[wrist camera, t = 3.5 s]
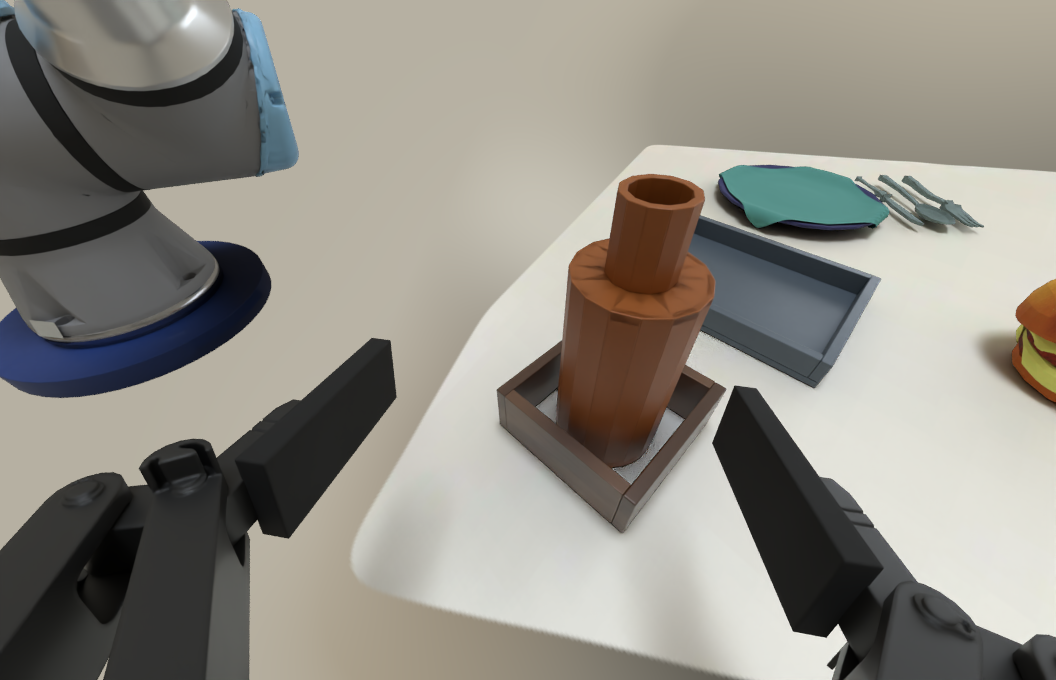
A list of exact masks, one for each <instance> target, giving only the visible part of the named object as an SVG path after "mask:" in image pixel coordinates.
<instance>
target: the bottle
mask: <svg viewBox="0 0 1056 680" xmlns="http://www.w3.org/2000/svg"><path fill="white" fill-rule="evenodd" d="M704 201H705V197H704V191H703V190H702V189H701V188H699V187H698V186H696V185H695V184H693V183H692V182H690V181H687V180H683V179H680V178H677V177H674V176H667V175H656V174H646V175H637V176H631V177H629V178H627V179H625V180H623V181H621V182H620V183H619V187H618V191H617V197H616V203H615V209H614V215H613V221H612V227H611V233H610V238H609V239H605V240H601V241H596V242H593V243H591V244H589V245H588V246H586V247H584V248H583V249H581V250H579V251H578V252H577V253H576V254H575V256H574V258H573V259H572V261H571V263H570V264H569V270H568V281H567V293H566V304H565V316H564V327H563V339H562V350H561V362H560V374H559V385H558V397H557V408H556V415H557V417H556V424H557V425H558V426H559V427H560V428H562V429H563V430H564V431H565V432H567V433H568V434H569V435H570V436H572V437H573V438H574V439H575V440H576V441H578V442H579V443H580V444H581V445H583V446H584V447H585V448H586V449H588V450H589V451H590V452H591V453H593V454H594V455H595V456H596V457H597V458H599V459H600V460H601V461H602V462H604V463H605V464H606V465H607V466H609V467H620V466H624V465H627V464H630V463H632V462H634V461H636V460H637V459H639V458H640V457H641V456H642V455H643V454H644V453H645V451H646V450H647V449H648V446H649V445H650V444H651V442H652V440H653V437H654V435H655V433H656V431H657V428H658V426H659V424H660V421H661V419H662V417H663V414H664V412H665V410H666V407H667V405H668V403H669V401H670V398H671V396H672V394H673V391H674V389H675V387H676V384H677V382H678V380H679V377H680V375H681V373H682V370H683V368H684V366H685V364H686V361H687V359H688V357H689V354H690V352H691V350H692V347H693V345H694V343H695V340H696V338H697V336H698V333H699V331H700V329H701V327H702V324H703V322H704V320H705V317H706V315H707V313H708V310H709V308H710V306H711V303H712V301H713V299H714V294H715V283H716V281H715V279H714V277H713V276H712V274H711V272H710V271H709V269H708V267H707V266H706V265H705V264H704V263H703V262H701V261H700V260H699V259H697V258H696V257H695V256H693V255H692V254H691V253H689V252H688V249H689V246H690V243H691V240H692V237H693V234H694V231H695V228H696V225H697V222H698V219H699V216H700V213H701V210H702V207H703V204H704Z"/></svg>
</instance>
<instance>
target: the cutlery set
mask: <svg viewBox="0 0 1056 680" xmlns="http://www.w3.org/2000/svg"><path fill="white" fill-rule="evenodd" d="M719 177H720V179H719V181H718V184H719V188H720V191H721V193H722V194H723V195H724V196H725V197H726V198H728V199H729V200H730V201H731V202H732V203H733V204H735V205H737V206H739V207H741V208H742V209H744V210H745V213H746V216H747V218H748V219H749V221H750V222H751V223H752V224H753V225H754V226H755V227H756V228H760V227H765V226H767V225H770V224H773V223H775V222H780V223H784V224H789V225H793V226H797V227H803V228H812V229H822V230H848V229H858V228H862V227H865V226H868V227H869V228H872V229H873V228H875V227H877V225H879V223H881V222H882V221H883V220H884V219H885V218H887V217H888V214H889V212H890V211H889V210H888V208H887V207H886V206H885V205H884V204H883V203H882V202H886V203H887V204H888V205H889V206H890V207H891V208H892V209H894V210H895V211H896V212H898V213H899V214H900V215H902V216H903V217H904V218H906V219H907V220H909V221H910V222H912V223H914V224H917V225H920V226H923V225H924V223H923V222H922V221H921V220H919V219H918V218H916V217H915V216H914V215H912V214H911V213H909V212H908V211H907V210H905V209H904V208H902V207H901V206H900V205H898V204H897V203H896V202H894V201H893V200H891V199H890V197H891V196H892V194H887V193H886V191H881V190H878V189H877V188H875V187H874V186H872V185H870V184H868V183H867V182H866V181H864V180H863V179H862V177H858V176H857V178H856V179H855V181H860V182H861V183H863V184H865V185H866V186H868V187H869V188H870V189H872V190H873V191H874V193H875V195H874V194H872V193H871V192H869V191H867V190H866V189H864V188H862V187H860V186H859V185H857V184H855V183H854V182H853V181H852V180H851V179H850V178H847V177H844V176H841V175H838V174H835V173H832V172H828V171H824V170H820V169H815V168H811V167H790V166H777V165H752V166H747V165H739V166H736V167H733V168H730V169H729V170H726V171H725V172H722V173H721V174H719ZM878 180H879V181H882V182H883V183H885V184H887V185H889V186H890V187H892V188H893V189H895V190H896V191H898V192H899V193H900V194H901V195H903V196H904V197H905V198H907V199H908V200H909V201H910V202H912V203H913V204H914V205H915V211H916V213H917V214H918V215H919V216H920V217H921V218H923V219H925V220H927V221H931V222H934V223H938V224H955V219H957V220H958V221H960V222H961V223H963V224H964V225H967V226H970V227H973V226H974V227H984V226H983V225H981V224H979V223H978V222H976V221H975V220H974V219H973V218H972V217H971V216H970V215H968V214H967V213H966V212H965V211H964V210H963V209H962V207H961V205H957V204H954V203H953V200H944V199H942V198H940V197H938V196H935V195H934V194H933V193H931V192H930V191H928V190H927V189H926V188H925V187H923V186H922V185H921V184H920V183H919V182H918V181H917V180H915V179H914V178H912V176H904V178H903V179H902V182H903V183H906V184H907V185H909V186H911V187H912V188H913V189H914V190H915V191H917V192H918V193H920V194H921V195H923V196H924V197H926V198H927V199H930V200H932V201H935V202H937V203H939V204H941V206H940V209H941V210H940V209H938V208H936V207H933V206H930V205H927V204H919V203H918V202H917V201H916V200H915V199H914V198H913V197H912V196H911V195H910V194H909V193H908V192H907V191H906V190H905V189H904V188H902V187H901V186H900V185H898V184H897V183H896V182H894V181H893V180H892V179H891V178H889V177H888V176H887V175H880V176H879V178H878ZM876 196H877V197H880V200H879V199H878V198H877V197H876ZM953 217H954V218H955V219H954V218H953Z"/></svg>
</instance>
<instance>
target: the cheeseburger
mask: <svg viewBox="0 0 1056 680" xmlns="http://www.w3.org/2000/svg"><path fill="white" fill-rule="evenodd" d="M1015 316H1016V318H1017V320H1018V321H1019V322H1020V323H1021V325H1020V326H1019V327H1018V329H1017V330H1016V341H1017V345H1016V346H1015V348H1014V349H1013V351H1012V364H1013V365H1014V367H1015V368H1016V369H1017V371H1018V372H1019V373H1020V375H1021V376H1022V378H1023V379H1024V380H1025V381H1026V382H1027V383H1029V384H1030V385H1031V386H1032V387H1034V388H1035V389H1036V390H1037V391H1039V392H1040V393H1041V394H1042V395H1044V396H1045V397H1046V398H1047V399H1049V400H1052V401H1054V402H1056V279H1055V280H1052V281H1050V282H1048V283H1046V284H1045V285H1043V286H1041V287H1040V288H1038V289H1036V290H1035V291H1033V292H1032V293H1031V294H1030V295H1029V296H1028V297H1027V298H1026V299H1025V300H1024V301H1023V302H1022V303H1021V304H1020V305H1019V306H1018V307H1017V310H1016V315H1015Z"/></svg>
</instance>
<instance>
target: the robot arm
mask: <svg viewBox="0 0 1056 680" xmlns="http://www.w3.org/2000/svg"><path fill="white" fill-rule="evenodd" d="M298 155H299V152H298V147H297V143H296V140H295V137H294V133H293V130H292V126H291V123H290V119H289V116H288V113H287V109H286V106H285V102H284V99H283V95H282V92H281V88H280V84H279V81H278V77H277V74H276V70H275V67H274V63H273V60H272V56H271V53H270V50H269V46H268V43H267V39H266V36H265V33H264V29H263V26H262V23H261V21H260V19H259V18H258V17H257V16H256V15H255V14H253V13H250V12H244V11H242V10H241V9H233V10H231V9H230V6H229V4H228V2H227V0H14V8H13V7H12V6H10V5H9V4H8V3H7V2H6V1H5V0H0V278H1V280H2V282H3V284H4V286H5V287H6V289H7V291H8V293H9V295H10V297H11V298H12V300H13V302H14V304H15V306H16V307H17V309H18V311H19V313H20V315H21V317H22V318H23V320H24V321H25V322H26V323H27V325H28V327H29V328H30V329H31V330H33V331H34V332H35V333H36V334H38V335H39V336H40V337H41V338H43V339H44V340H45V341H47V342H48V343H50V344H52V345H55V346H58V347H62V348H73V349H82V348H95V347H102V346H108V345H113V344H117V343H121V342H125V341H129V340H132V339H136V338H139V337H142V336H145V335H147V334H150V333H153V332H155V331H158V330H160V329H162V328H165V327H167V326H169V325H171V324H173V323H175V322H177V321H179V320H181V319H182V318H184V317H186V316H188V315H189V314H191V313H192V312H194V311H195V310H197V309H198V308H199V307H201V306H202V305H203V304H205V303H206V302H207V301H208V300H209V299H210V298H211V297H212V296H213V295H214V294H215V293H216V292H217V290H218V289H219V288H220V286H221V284H222V281H223V277H224V273H223V270H222V268H221V266H220V265H219V263H218V262H217V261H216V259H215V258H214V256H213V255H212V254H211V253H210V252H209V251H208V250H207V249H206V248H205V247H203V246H202V245H201V244H199V243H198V242H197V241H196V240H194V239H193V238H192V237H191V236H189V235H188V234H187V233H186V232H184V231H183V230H182V229H181V228H179V227H178V226H177V225H176V224H174V223H173V222H172V221H170V220H169V219H168V218H167V217H166V216H164V215H163V214H162V213H161V212H159V211H158V210H157V209H156V208H155V207H154V205H153V204H152V203H151V201H150V200H149V199H148V198H147V196H146V194H145V193H144V192H143V190H150V189H156V188H163V187H164V188H165V187H173V186H180V185H188V184H195V183H204V182H212V181H220V180H228V179H236V178H244V177H251V176H256V177H260V176H262V175H264V174H265V173H269V172H274V171H279V170H284V169H288V168H290V167H292V166H294V165H295V164H296V162H297V160H298ZM395 399H396V389H395V379H394V369H393V360H392V351H391V342H390V340H384V339H376V338H371V339H370V340H369V341H368V342H367V343H366V344H365V345H364V346H362V347H361V348H360V349H359V350H358V351H357V352H356V353H354V354H353V355H352V356H351V357H350V358H349V359H348V360H346V361H345V362H344V363H343V364H342V365H341V366H340V367H339V368H338V369H336V370H335V371H334V372H333V373H332V374H331V375H329V376H328V377H327V378H326V379H325V380H324V381H323V382H322V383H320V385H318V386H317V387H316V388H315V389H314V390H313V391H311V392H310V393H309V394H308V395H307V396H306V397H305V398H303V399H302V400H301V401H299V400H291V401H289V402H287V403H285V404H283V405H281V406H279V407H277V408H276V409H275V410H273V411H272V412H271V413H270V414H268V415H267V416H266V417H265V418H264V419H263V421H260V422H259V423H258V424H256V425H255V426H254V427H253V428H252V430H249V431H248V432H247V433H246V434H245V435H243V436H242V437H241V438H240V439H239V440H237V441H236V442H235V443H234V444H233V445H231V446H230V447H229V448H228V449H227V450H225V451H224V452H223V453H222V454H221V455H219V456H218V457H217V458H216V456H215V453H214V451H213V448H212V446H211V444H210V443H209V442H208V441H206V440H203V439H189V440H183V441H179V442H176V443H173V444H170V445H167V446H165V447H163V448H161V449H159V450H157V451H155V452H154V453H152V454H151V455H150V456H149V457H147V458H146V459H145V460H144V461H143V463H142V464H141V466H140V467H139V469H140V471H141V473H142V475H143V477H144V479H145V480H146V482H147V484H148V485H140V486H130V487H128V486H127V484H126V483H125V481H124V479H123V477H122V476H121V475H120V474H116V473H114V472H112V473H99V474H95V475H91V476H87V477H84V478H82V479H79V480H77V481H75V482H72V483H70V484H68V485H67V486H65V487H63V488H62V489H60V490H58V491H56V492H55V493H54V494H53V495H52V496H51V497H49V498H48V499H47V500H46V501H45V502H44V503H43V504H42V506H40V508H39V509H38V510H37V511H36V512H35V513H34V514H33V515H32V516H31V517H30V518H29V520H28V521H27V522H26V523H25V524H24V525H23V526H22V527H21V528H20V529H19V531H18V532H17V533H16V534H15V535H14V536H13V537H12V538H11V539H10V540H9V541H8V543H7V544H6V545H5V546H4V547H3V548H2V549H1V550H0V680H97V679H98V677H99V676H100V674H101V672H102V670H103V668H104V666H105V664H106V662H107V660H108V658H109V660H108V664H107V668H106V671H105V675H104V679H103V680H249V604H250V601H249V600H250V597H249V596H250V589H249V588H250V586H249V584H250V539H249V536H248V533H247V531H248V530H249V528H250V527H251V526H252V525H253V524H254V523H255V522H256V521H257V520H258V522H259V525H260V527H261V530H262V532H263V534H267V535H272V536H278V537H284V538H290V537H291V535H292V534H293V533H294V531H295V530H296V529H297V527H298V526H299V524H300V523H301V522H302V521H303V519H304V518H305V517H306V516H307V514H308V513H309V512H310V510H311V509H312V508H313V506H314V505H315V504H316V502H317V501H318V500H319V498H320V497H321V496H322V495H323V493H324V492H325V491H326V489H327V488H328V486H329V485H330V484H331V483H332V481H333V480H334V479H335V477H336V476H337V474H338V473H339V472H340V471H341V470H342V468H343V467H344V466H345V464H346V463H347V462H348V460H349V459H350V458H351V456H352V455H353V454H354V452H355V451H356V450H357V448H358V447H359V446H360V445H361V443H362V442H363V441H364V439H365V438H366V437H367V435H368V434H369V433H370V431H371V430H372V429H373V428H374V426H375V425H376V424H377V422H378V421H379V420H380V418H381V417H382V416H383V414H384V413H385V412H386V410H387V409H388V408H389V407H390V405H391V404H392V402H393V401H394V400H395ZM712 444H713V446H714V448H715V451H716V453H717V455H718V458H719V460H720V462H721V465H722V467H723V469H724V472H725V474H726V476H727V479H728V481H729V483H730V486H731V488H732V490H733V493H734V495H735V497H736V500H737V502H738V504H739V507H740V509H741V511H742V514H743V516H744V518H745V521H746V523H747V525H748V528H749V530H750V532H751V535H752V537H753V539H754V542H755V544H756V546H757V549H758V551H759V553H760V556H761V558H762V560H763V563H764V565H765V567H766V570H767V572H768V574H769V577H770V579H771V581H772V584H773V586H774V588H775V591H776V593H777V595H778V598H779V600H780V602H781V605H782V607H783V609H784V612H785V614H786V616H787V619H788V621H789V623H790V626H791V628H792V630H793V632H799V633H804V634H809V635H815V636H820V637H826V638H827V636H828V635H829V634H830V633H831V632H832V630H833V629H834V628H835V627H836V625H837V624H839V626H840V628H841V630H842V632H843V634H844V636H845V638H846V639H847V641H848V642H847V643H846V644H845V645H844V646H843V647H842V648H841V649H840V651H839V652H838V653H837V654H836V655H835V656H834V657H833V658H832V660H831V661H830V662H829V663H828V665H827V666H828V667H829V668H831V669H832V670H833V668H834V667H835V666H836V668H835V671H834V675H833V678H832V680H1056V637H1053V636H1050V635H1038V634H1036V635H1035V636H1034V637H1032V638H1031V639H1030V640H1029V641H1027V642H1026V643H1025V644H1023V645H1022V644H1019V643H1017V642H1015V641H1012V640H1010V639H1007V638H1005V637H1003V636H1000V635H998V634H995V633H993V632H991V631H988V630H986V629H984V628H981V627H979V626H976V625H975V623H974V622H973V621H972V619H971V618H970V617H969V616H968V615H967V614H966V613H965V612H964V611H963V610H962V609H961V608H960V607H959V606H958V605H957V604H956V603H955V602H953V601H952V600H950V599H949V598H947V597H946V596H945V595H943V594H942V593H940V592H939V591H937V590H935V589H933V588H931V587H928V586H926V585H924V584H921V583H918V582H917V581H916V580H915V578H914V577H913V576H912V574H911V573H910V572H909V570H908V569H907V568H906V566H905V565H904V564H903V563H902V561H901V560H900V559H899V557H898V556H897V555H896V553H895V552H894V551H893V549H892V548H891V547H890V546H889V544H888V543H887V542H886V540H885V539H884V538H883V536H882V535H881V534H880V532H879V531H878V530H877V529H876V528H874V525H873V523H872V522H871V521H870V519H869V518H868V517H867V515H866V514H863V510H862V509H861V508H860V506H859V505H858V504H857V502H856V501H855V500H854V498H853V497H852V496H851V495H850V494H849V493H848V492H847V491H846V490H845V489H843V488H842V487H841V486H840V485H839V484H837V483H836V482H835V481H834V480H833V479H830V478H823V477H819V476H818V474H817V473H816V471H815V470H814V469H813V467H812V466H811V464H810V463H809V462H808V460H807V459H806V457H805V456H804V455H803V453H802V452H801V450H800V449H799V448H798V446H797V445H796V443H795V442H794V441H793V439H792V438H791V436H790V435H789V434H788V432H787V431H786V429H785V428H784V426H783V425H782V424H781V422H780V421H779V419H778V418H777V417H776V415H775V414H774V412H773V411H772V410H771V408H770V407H769V405H768V404H767V403H766V401H765V400H764V398H763V397H762V396H761V394H760V393H759V391H758V390H757V389H756V388H749V387H741V386H734V388H733V391H732V394H731V396H730V399H729V401H728V404H727V406H726V409H725V412H724V414H723V417H722V419H721V422H720V424H719V427H718V430H717V432H716V435H715V437H714V440H713V442H712Z"/></svg>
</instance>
